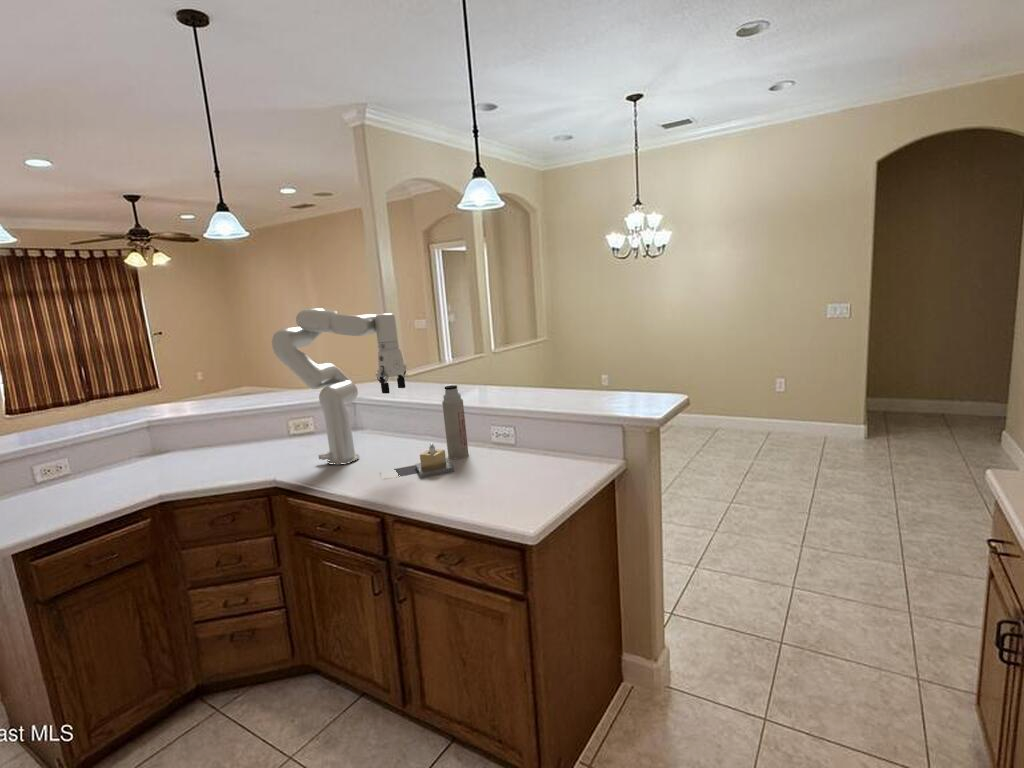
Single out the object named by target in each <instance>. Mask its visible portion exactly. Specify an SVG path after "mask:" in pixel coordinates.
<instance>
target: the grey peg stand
mask: <svg viewBox="0 0 1024 768" xmlns="http://www.w3.org/2000/svg"><path fill="white" fill-rule="evenodd" d="M428 448H429V449H430V454H434V453H435V449H436V446H435V445H434V443H430V445H429V447H428ZM429 449H428V450H429ZM414 465H415V466H416V470H417V472H418V473H417V474H418V475H419V477H420V478H421V479H425V478H429V477H436V476H440V475H444V474H445V475H446V474H451V473H455V466H454V465H453V464H452V463H451V462H450V460H449V459H448V457H447V458H446V464H444V465H442V466H441V467H439V468H437V469H429V468H421V462H419V463H414Z"/></svg>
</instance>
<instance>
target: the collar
mask: <svg viewBox="0 0 1024 768" xmlns="http://www.w3.org/2000/svg"><path fill="white" fill-rule="evenodd" d="M419 459H420V463H421V468H429V469H437V468H439V467H441V466H442V465H444V464H446V450H444V449H436V448H435V453H434V454H430V449H428V450H426V451H424V452H422V453H420V454H419Z"/></svg>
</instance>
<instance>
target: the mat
mask: <svg viewBox="0 0 1024 768" xmlns="http://www.w3.org/2000/svg"><path fill="white" fill-rule="evenodd" d="M393 469H394V470H396V472H397V473H398V476H399V475H400V476H401V477H405V476H406V477H407V476H411V475H416V474H419V473H418V472H417V470H416V466H415V464H414V465H409V466H404V467H398V468H393ZM400 476H399V477H398V478H400Z"/></svg>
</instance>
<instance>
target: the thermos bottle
mask: <svg viewBox="0 0 1024 768" xmlns="http://www.w3.org/2000/svg"><path fill="white" fill-rule="evenodd" d="M444 393H445V394H444V395H443V396H442V398H443V400H442V402H441V403H442V410H443V411H442V412H443V421H444V430H445V438H446V439H445V440H446V447H447V455H448V456H447V458H449V457H450V459H453V458H458V459H463V458H465V456H466V457H468V456H469V447H468V436H467V429H466V427H467V426H466V417H465V408H464V399H463V398H462V396H461V393H460V392H459V390H458V385H455V384H452V385H446V386H444ZM467 455H468V456H467ZM462 457H463V458H462Z"/></svg>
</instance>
